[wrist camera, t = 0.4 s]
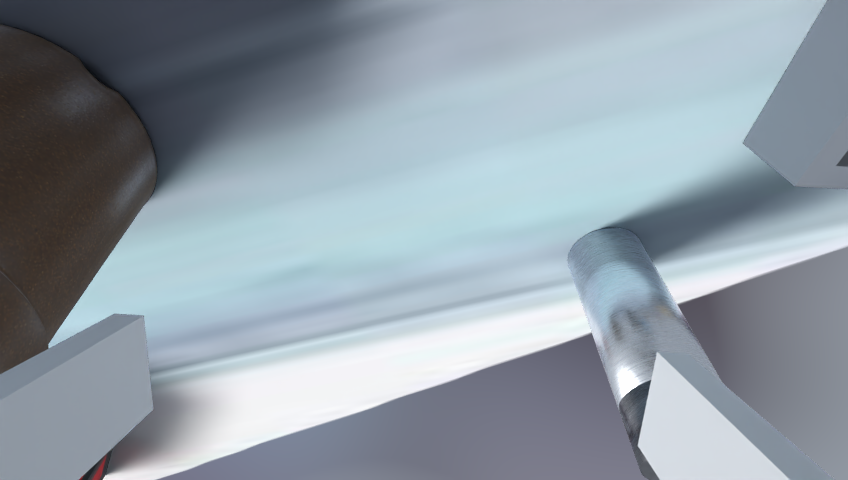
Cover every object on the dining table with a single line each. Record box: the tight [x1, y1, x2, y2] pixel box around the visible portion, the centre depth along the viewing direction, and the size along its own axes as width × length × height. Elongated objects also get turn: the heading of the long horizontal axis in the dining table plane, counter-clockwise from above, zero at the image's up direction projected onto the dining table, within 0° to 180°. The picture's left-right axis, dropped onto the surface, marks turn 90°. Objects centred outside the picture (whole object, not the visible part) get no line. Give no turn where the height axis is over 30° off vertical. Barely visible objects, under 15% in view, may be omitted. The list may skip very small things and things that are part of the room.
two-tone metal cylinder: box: [568, 228, 722, 480], centre depth 24 cm, size 5×5×14 cm
